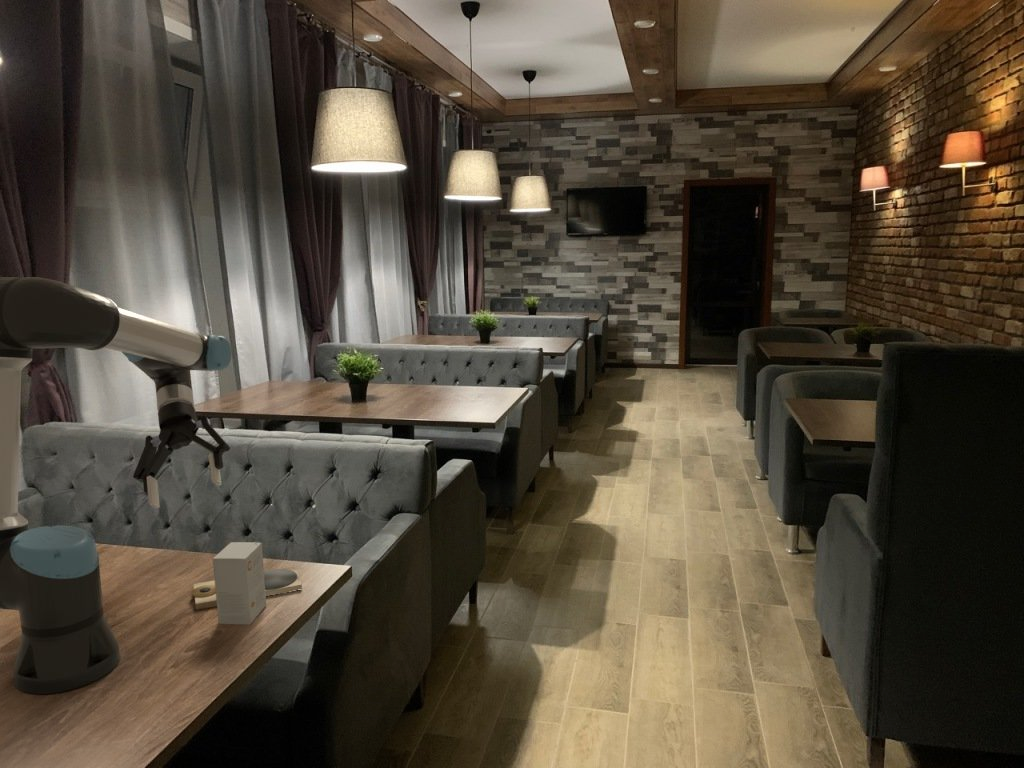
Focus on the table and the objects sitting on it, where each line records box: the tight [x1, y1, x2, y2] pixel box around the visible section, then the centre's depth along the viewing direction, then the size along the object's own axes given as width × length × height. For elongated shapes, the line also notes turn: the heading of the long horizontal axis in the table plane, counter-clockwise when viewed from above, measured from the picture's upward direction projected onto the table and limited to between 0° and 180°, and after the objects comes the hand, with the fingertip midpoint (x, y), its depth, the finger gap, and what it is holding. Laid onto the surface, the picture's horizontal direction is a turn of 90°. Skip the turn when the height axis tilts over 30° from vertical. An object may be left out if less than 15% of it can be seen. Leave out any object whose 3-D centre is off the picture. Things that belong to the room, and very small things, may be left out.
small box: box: [212, 541, 267, 625], centre depth 143 cm, size 8×6×13 cm
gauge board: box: [191, 566, 303, 611], centre depth 155 cm, size 10×20×2 cm, turn 115°
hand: (185, 494), depth 157 cm, fingers open, 13 cm apart
